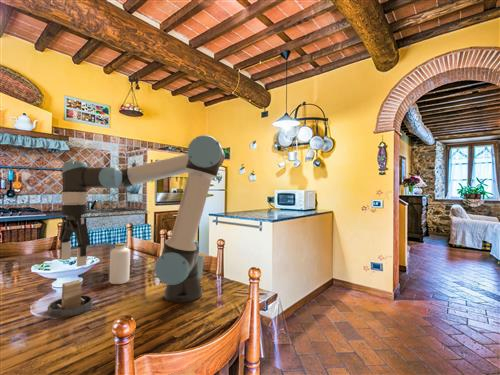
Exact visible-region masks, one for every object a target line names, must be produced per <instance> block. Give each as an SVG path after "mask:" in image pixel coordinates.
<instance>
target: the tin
mask: <svg viewBox="0 0 500 375" xmlns="http://www.w3.org/2000/svg"><path fill="white" fill-rule="evenodd" d="M93 301H94V297H93V296H91V295H88V294H87V295H86V294H84V295H83V294H81V306H79V307H76V308H71V309H64V310H63V306H62V298H58V299H57V300H54V301H53V302H51V303H50V304H49V305H48V306H47V314H48V316H49V317H52V318H68V317H73V316H77V315H80V314H83V313H85V312H87V311H89V310H90V309H91V308H92V306H93V303H94V302H93Z"/></svg>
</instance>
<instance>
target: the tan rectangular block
mask: <svg viewBox="0 0 500 375" xmlns="http://www.w3.org/2000/svg"><path fill="white" fill-rule="evenodd" d="M61 288H62V289H61V291H62V292H61V299H62V306H63V310H64V309H71V308H76V307H79V306H81V295H82V281H80V280H79V279H78V280H73V281H69V282H64V283H62V285H61Z"/></svg>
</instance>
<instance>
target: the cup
mask: <svg viewBox="0 0 500 375" xmlns="http://www.w3.org/2000/svg"><path fill="white" fill-rule="evenodd" d="M204 261H205V257H204V256H202V255H199V260H198V277H199V280H201V279H202V277H203V270H204Z"/></svg>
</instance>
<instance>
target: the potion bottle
mask: <svg viewBox="0 0 500 375" xmlns="http://www.w3.org/2000/svg"><path fill="white" fill-rule="evenodd" d="M109 255H110V256H109V258H110V259H109V283H110V284H112V285H123V284H125V283H127V282H129V281H130V266H131V265H130V264H131V262H130V260H131V251H130V249H129V248H128V247H126V243H125V242H118V243H115V248H113V249H112V250H110V254H109Z"/></svg>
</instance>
